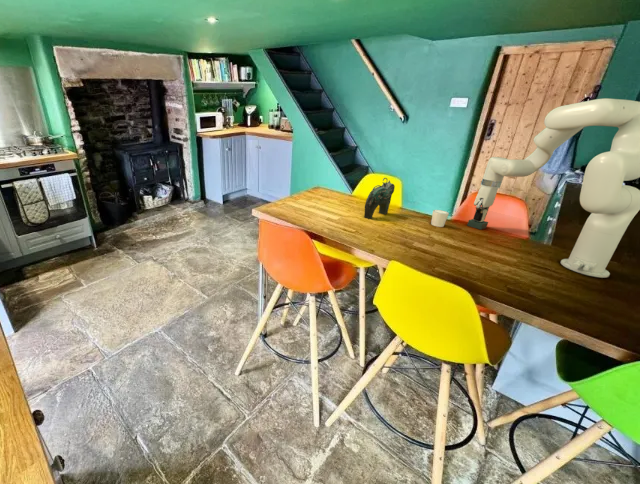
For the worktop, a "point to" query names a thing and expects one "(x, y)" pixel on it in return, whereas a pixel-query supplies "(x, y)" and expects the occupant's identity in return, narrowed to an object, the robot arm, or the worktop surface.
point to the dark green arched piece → (379, 199)
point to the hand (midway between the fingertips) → (478, 219)
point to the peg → (483, 215)
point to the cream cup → (439, 218)
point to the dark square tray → (477, 224)
